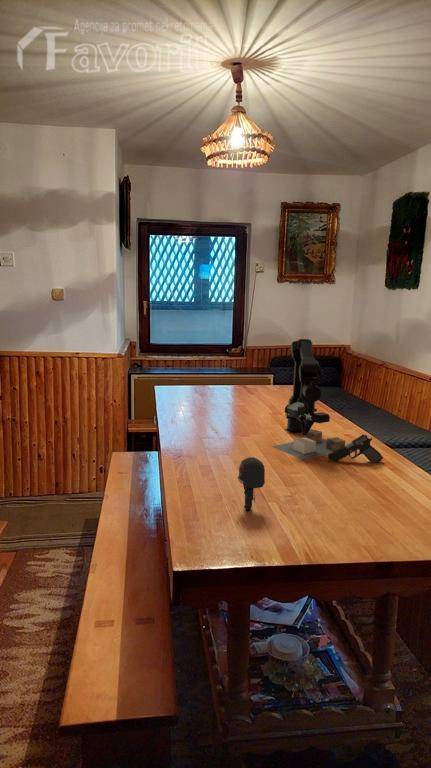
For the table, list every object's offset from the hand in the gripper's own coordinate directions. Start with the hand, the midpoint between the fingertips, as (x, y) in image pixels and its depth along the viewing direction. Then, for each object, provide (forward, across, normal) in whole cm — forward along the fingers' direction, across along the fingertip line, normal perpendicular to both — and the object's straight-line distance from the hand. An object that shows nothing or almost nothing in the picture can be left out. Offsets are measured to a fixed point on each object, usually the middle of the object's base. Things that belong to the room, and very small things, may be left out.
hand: (305, 435), depth 191 cm
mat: (+7, -1, +5) cm, 8 cm away
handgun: (+7, +19, +7) cm, 21 cm away
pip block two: (+6, +5, +12) cm, 14 cm away
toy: (+7, +29, -50) cm, 58 cm away
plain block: (+6, 0, 0) cm, 6 cm away
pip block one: (+6, -7, +12) cm, 15 cm away
